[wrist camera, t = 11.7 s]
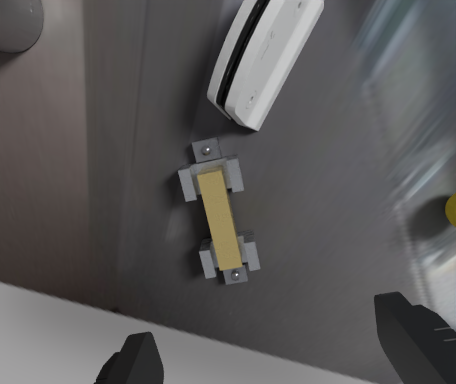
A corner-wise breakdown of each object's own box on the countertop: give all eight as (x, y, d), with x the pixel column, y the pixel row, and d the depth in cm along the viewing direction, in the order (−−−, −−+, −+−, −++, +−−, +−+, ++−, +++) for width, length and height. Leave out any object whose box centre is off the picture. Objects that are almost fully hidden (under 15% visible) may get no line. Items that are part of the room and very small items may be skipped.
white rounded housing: (256, 133, 38) (232, 124, 29) (226, 117, 39) (194, 103, 30) (325, 4, 34) (324, -57, 25) (290, -10, 35) (275, -73, 26)
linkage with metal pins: (212, 280, 44) (210, 296, 40) (178, 144, 39) (171, 148, 35) (261, 271, 43) (264, 287, 39) (233, 132, 38) (232, 135, 34)
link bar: (221, 259, 41) (220, 270, 38) (199, 170, 38) (196, 175, 35) (242, 255, 41) (242, 266, 38) (222, 166, 38) (221, 170, 35)
